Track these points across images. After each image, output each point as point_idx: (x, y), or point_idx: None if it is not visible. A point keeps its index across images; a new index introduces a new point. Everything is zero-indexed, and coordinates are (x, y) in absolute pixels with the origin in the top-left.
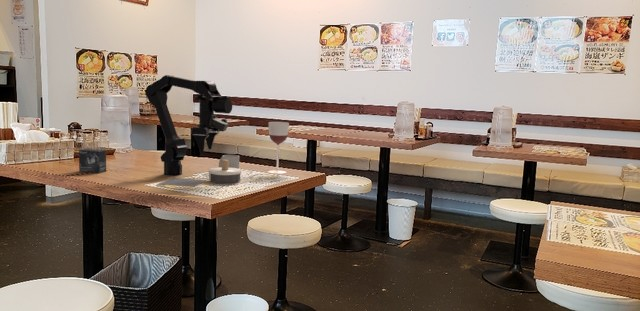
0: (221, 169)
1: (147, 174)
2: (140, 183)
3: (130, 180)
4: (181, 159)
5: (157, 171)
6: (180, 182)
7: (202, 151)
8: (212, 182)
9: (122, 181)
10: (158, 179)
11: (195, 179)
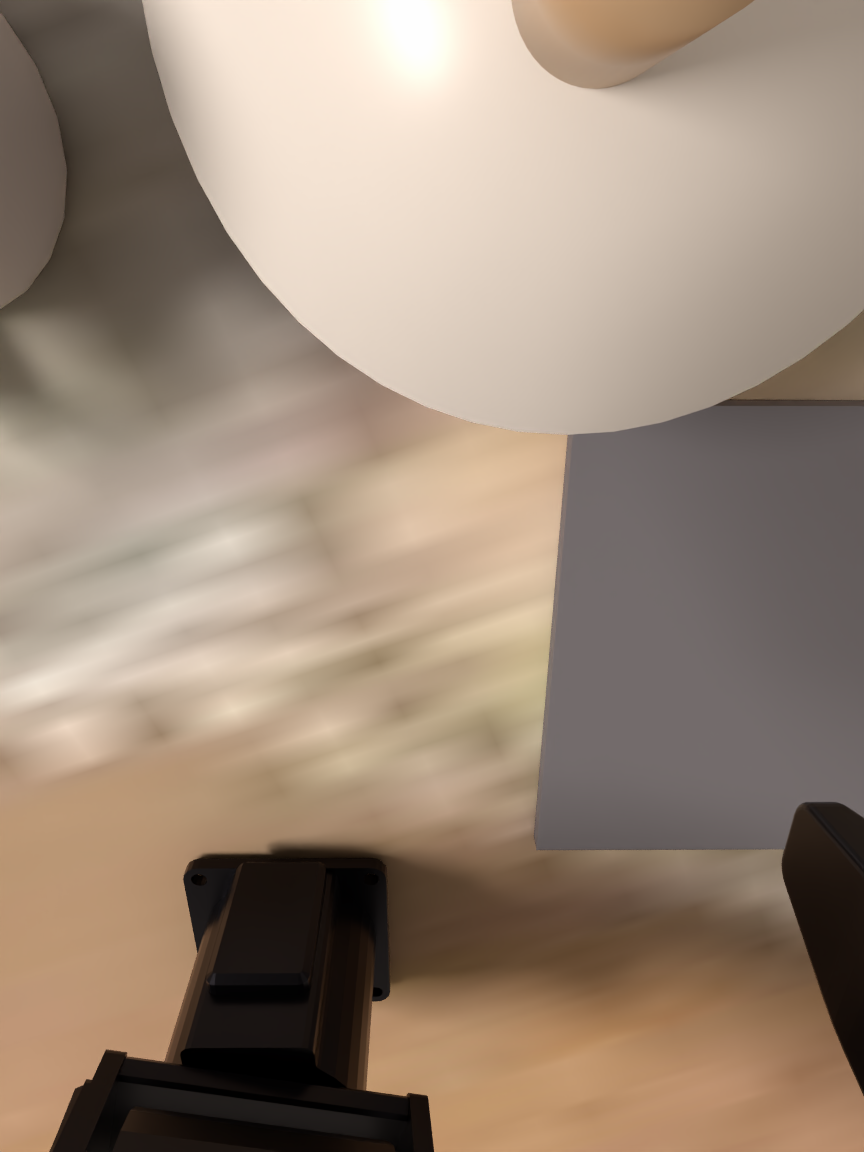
0: (552, 114)
1: None
2: None
3: (700, 1100)
4: (145, 1071)
5: None
6: (845, 683)
7: (842, 830)
8: None
9: (762, 1125)
10: (585, 950)
11: (575, 585)
